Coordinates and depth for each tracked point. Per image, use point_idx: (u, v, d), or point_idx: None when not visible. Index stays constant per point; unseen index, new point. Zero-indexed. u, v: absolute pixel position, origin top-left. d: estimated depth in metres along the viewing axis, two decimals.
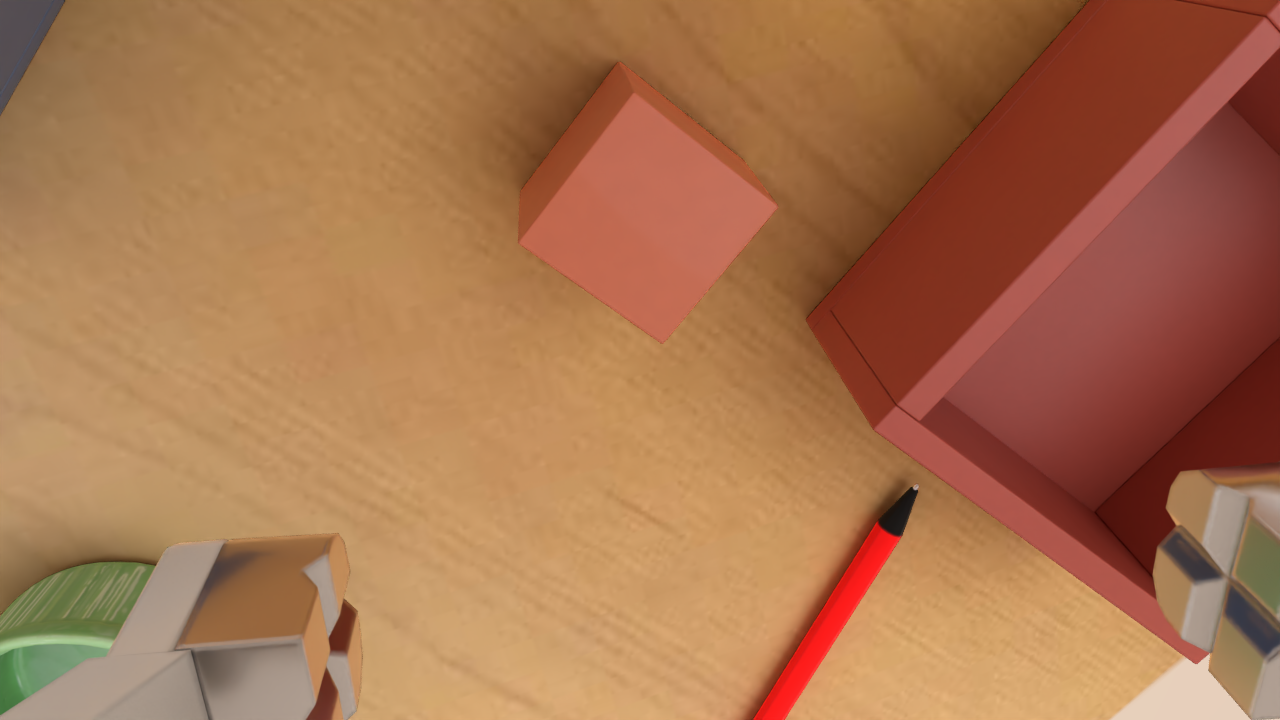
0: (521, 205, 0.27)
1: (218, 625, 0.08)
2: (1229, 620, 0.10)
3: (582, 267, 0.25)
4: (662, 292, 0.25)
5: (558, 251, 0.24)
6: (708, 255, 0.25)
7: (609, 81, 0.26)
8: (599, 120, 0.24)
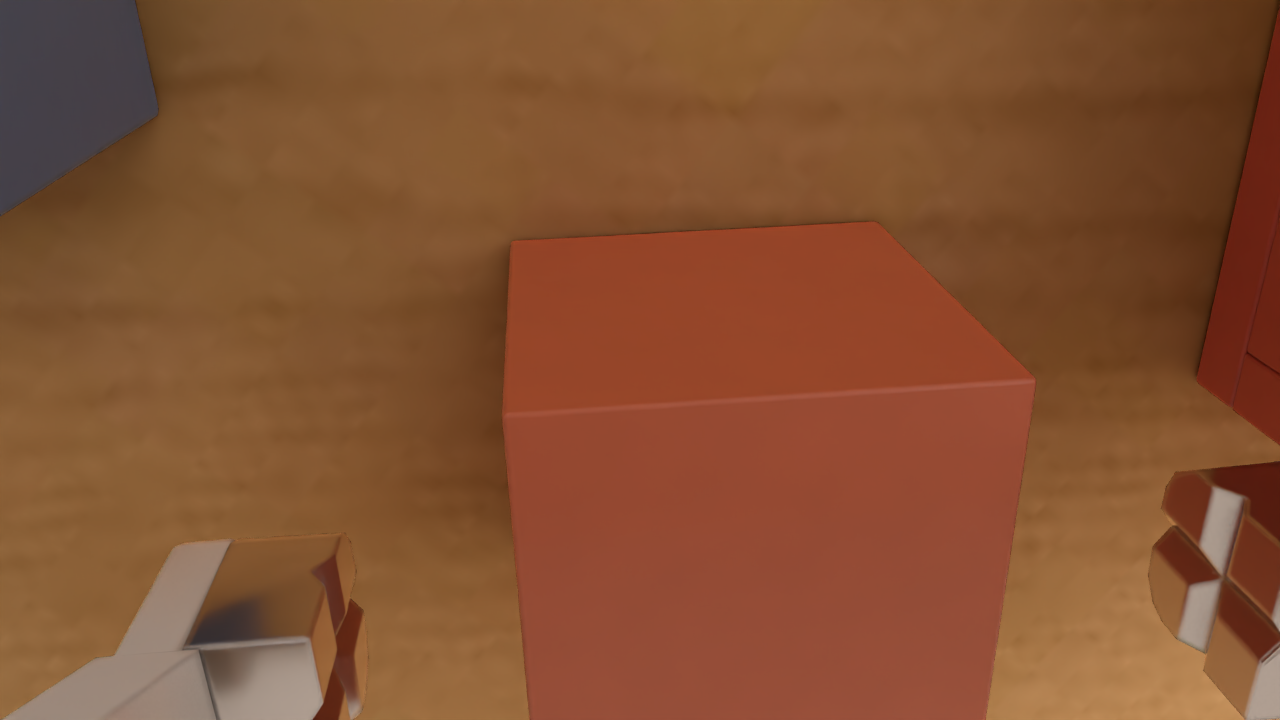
0: None
1: (227, 623, 0.08)
2: (1224, 620, 0.10)
3: None
4: (903, 700, 0.10)
5: None
6: (946, 576, 0.09)
7: None
8: None
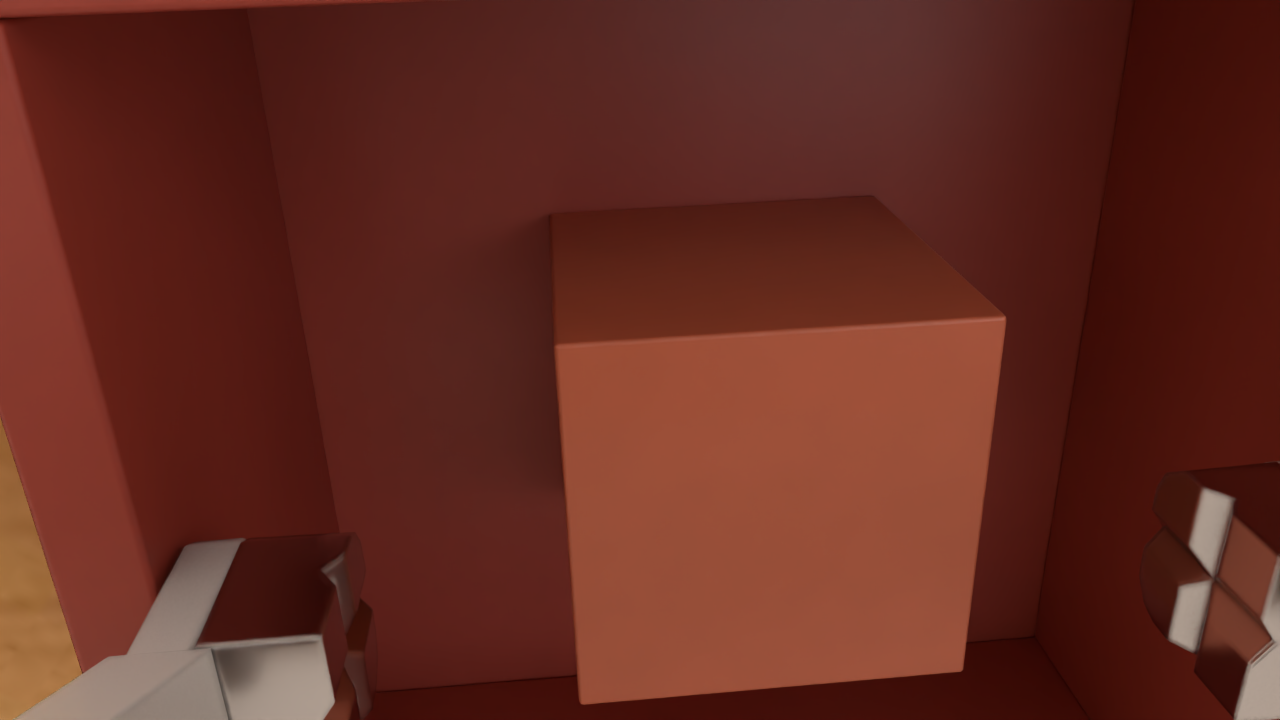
0: None
1: (239, 623, 0.08)
2: (1214, 621, 0.10)
3: (719, 664, 0.12)
4: (895, 603, 0.11)
5: (657, 670, 0.12)
6: (932, 492, 0.11)
7: None
8: None
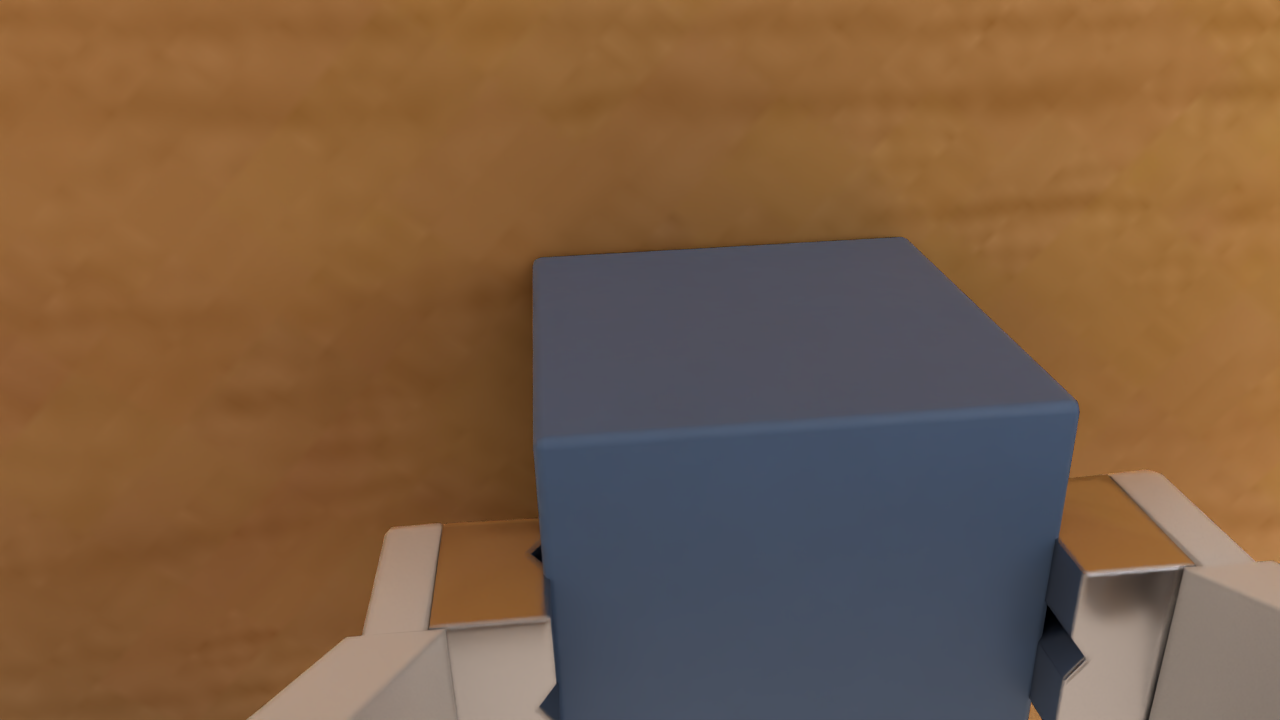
0: None
1: (465, 605, 0.08)
2: None
3: None
4: None
5: None
6: None
7: None
8: None
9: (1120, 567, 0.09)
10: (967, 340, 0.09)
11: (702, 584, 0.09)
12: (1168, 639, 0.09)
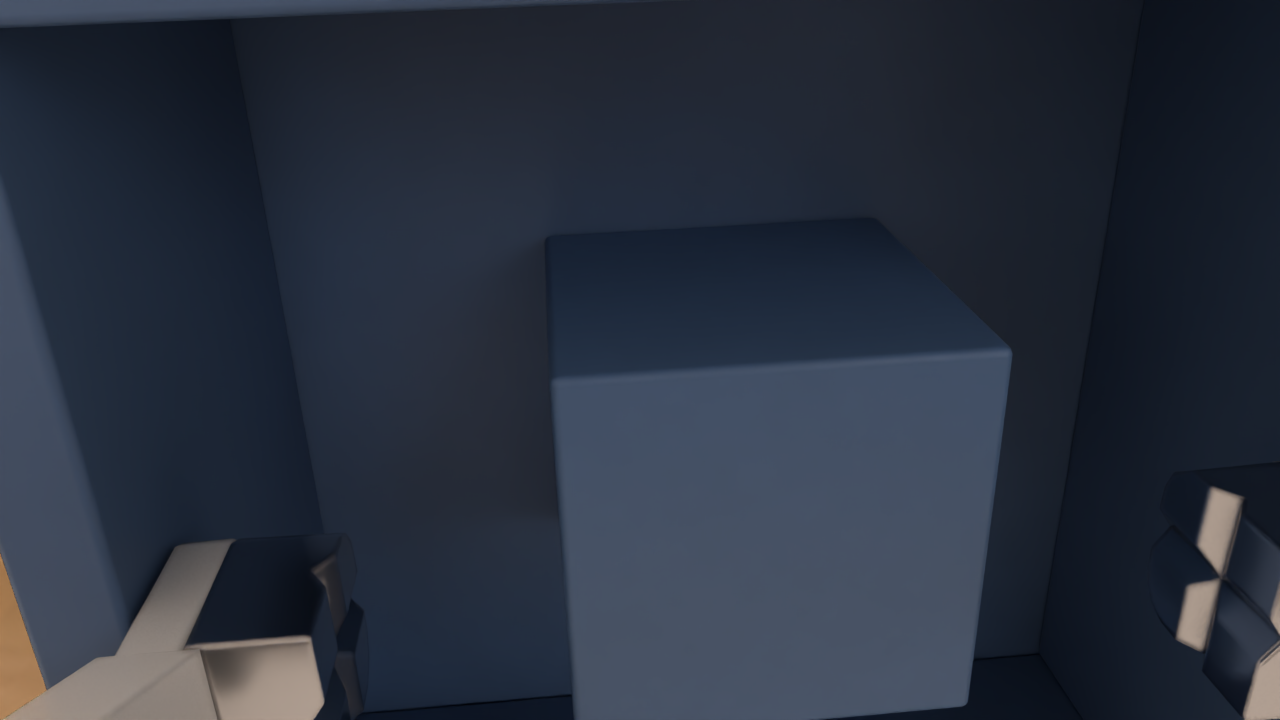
0: None
1: (228, 624, 0.08)
2: (1223, 621, 0.10)
3: None
4: None
5: None
6: None
7: None
8: None
9: None
10: (921, 300, 0.11)
11: (693, 505, 0.10)
12: None
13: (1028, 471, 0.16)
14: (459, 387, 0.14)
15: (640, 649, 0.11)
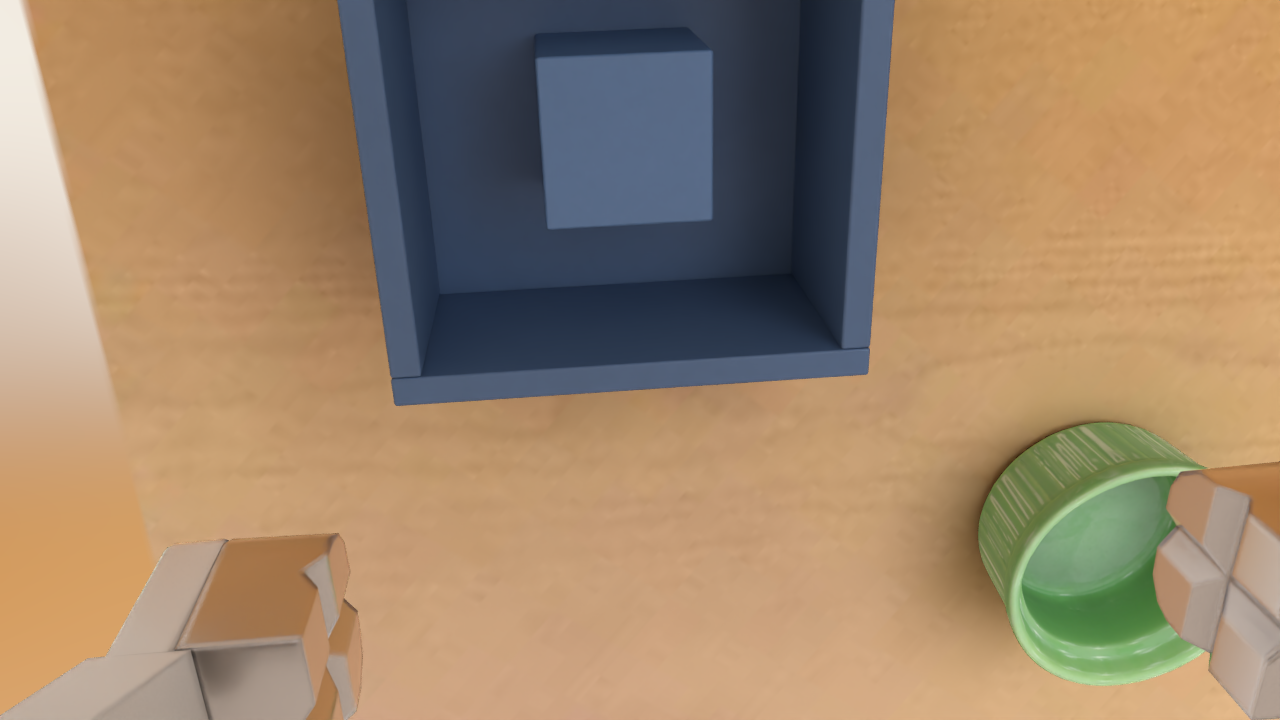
0: None
1: (220, 625, 0.08)
2: (1229, 620, 0.10)
3: None
4: None
5: None
6: None
7: None
8: None
9: None
10: (687, 42, 0.27)
11: (591, 114, 0.26)
12: None
13: (775, 165, 0.32)
14: (494, 110, 0.30)
15: (572, 183, 0.27)
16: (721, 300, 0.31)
